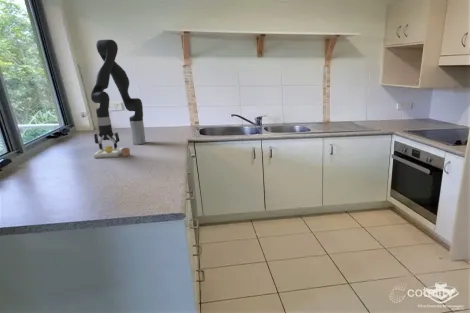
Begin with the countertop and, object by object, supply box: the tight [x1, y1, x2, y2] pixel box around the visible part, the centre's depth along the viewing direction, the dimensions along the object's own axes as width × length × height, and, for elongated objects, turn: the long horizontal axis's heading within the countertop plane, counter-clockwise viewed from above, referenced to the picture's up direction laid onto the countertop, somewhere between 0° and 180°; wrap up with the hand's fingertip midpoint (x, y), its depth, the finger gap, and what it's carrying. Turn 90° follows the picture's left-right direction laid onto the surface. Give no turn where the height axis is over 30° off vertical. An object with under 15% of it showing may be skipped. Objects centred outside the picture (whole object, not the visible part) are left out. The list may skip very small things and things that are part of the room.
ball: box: [103, 145, 114, 153], centre depth 177 cm, size 5×5×5 cm
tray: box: [93, 147, 124, 159], centre depth 178 cm, size 14×14×2 cm
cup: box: [121, 147, 131, 158], centre depth 173 cm, size 5×5×5 cm
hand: (108, 149), depth 177 cm, fingers open, 8 cm apart
